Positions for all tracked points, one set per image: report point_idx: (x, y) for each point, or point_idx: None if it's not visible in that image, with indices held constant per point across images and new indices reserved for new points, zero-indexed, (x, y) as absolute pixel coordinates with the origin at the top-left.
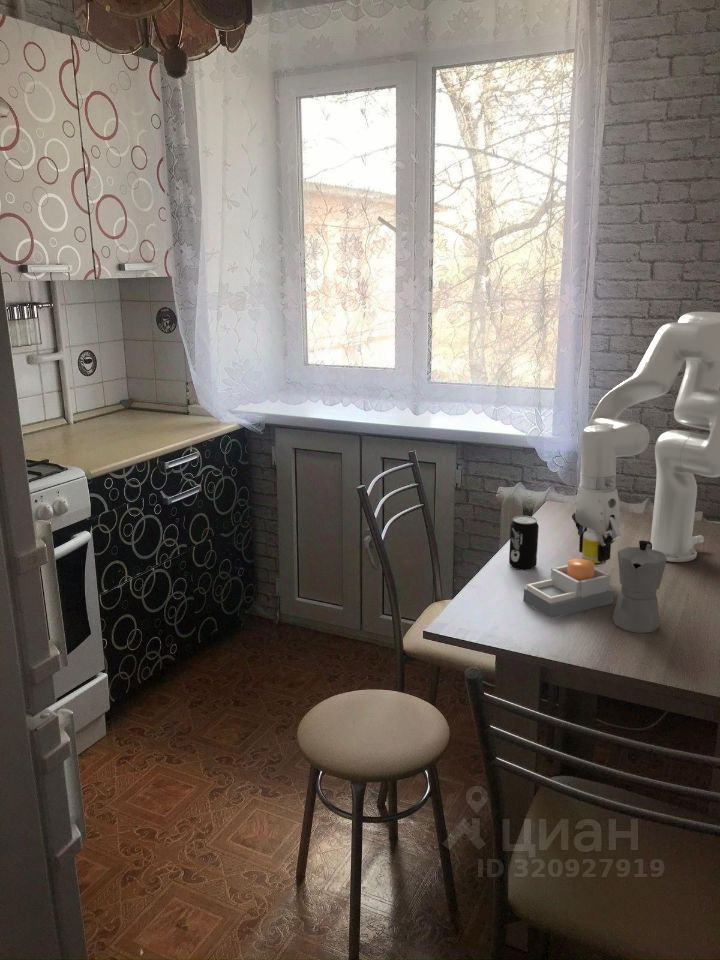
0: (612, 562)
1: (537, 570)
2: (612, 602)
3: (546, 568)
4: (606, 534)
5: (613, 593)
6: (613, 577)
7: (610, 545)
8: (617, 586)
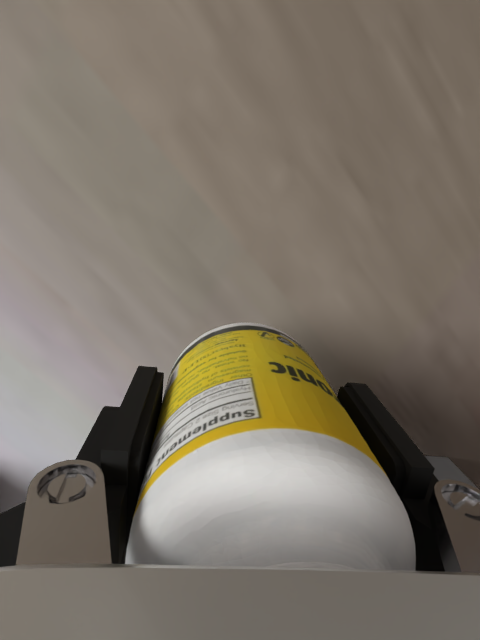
0: (106, 38)
1: (12, 478)
2: (448, 460)
3: (9, 430)
4: (401, 528)
5: (477, 488)
6: (274, 237)
7: (417, 452)
8: (358, 311)
